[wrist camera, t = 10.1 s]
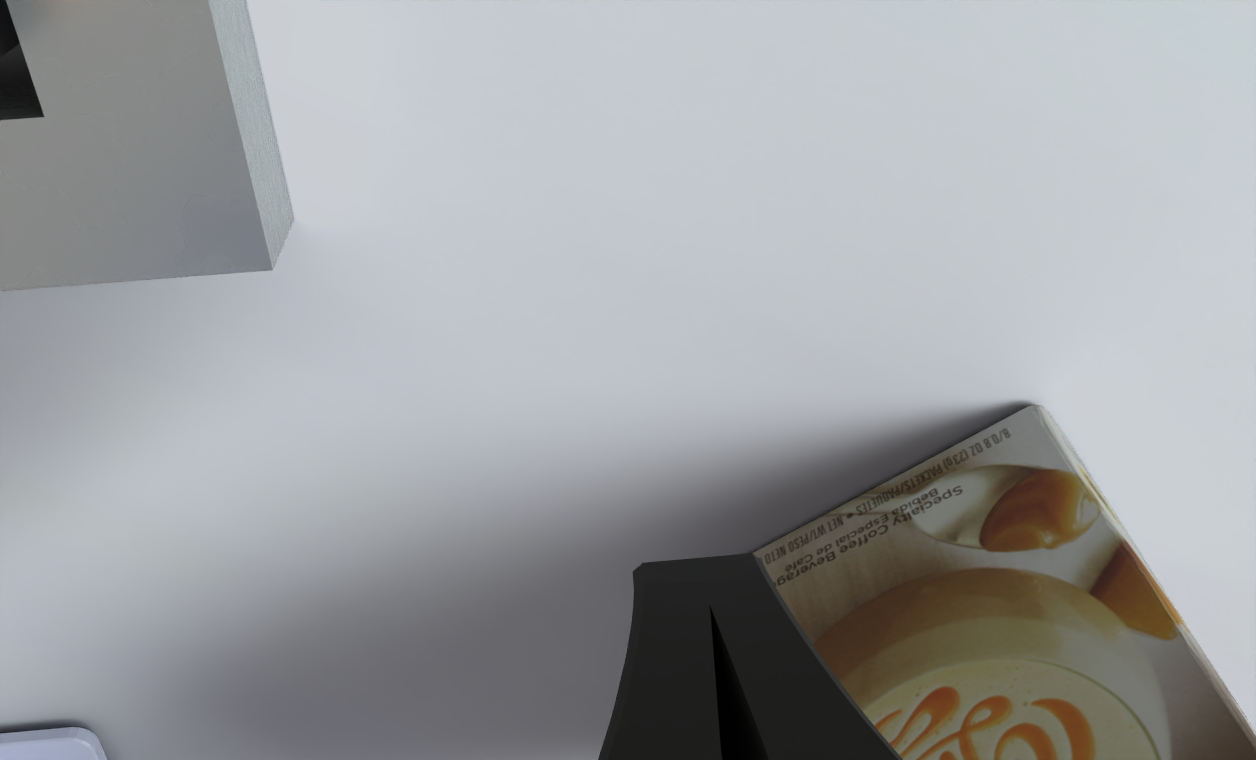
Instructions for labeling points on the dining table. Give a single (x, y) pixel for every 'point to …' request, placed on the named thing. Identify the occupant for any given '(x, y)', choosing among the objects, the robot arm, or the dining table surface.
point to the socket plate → (135, 144)
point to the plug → (6, 30)
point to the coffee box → (1004, 613)
